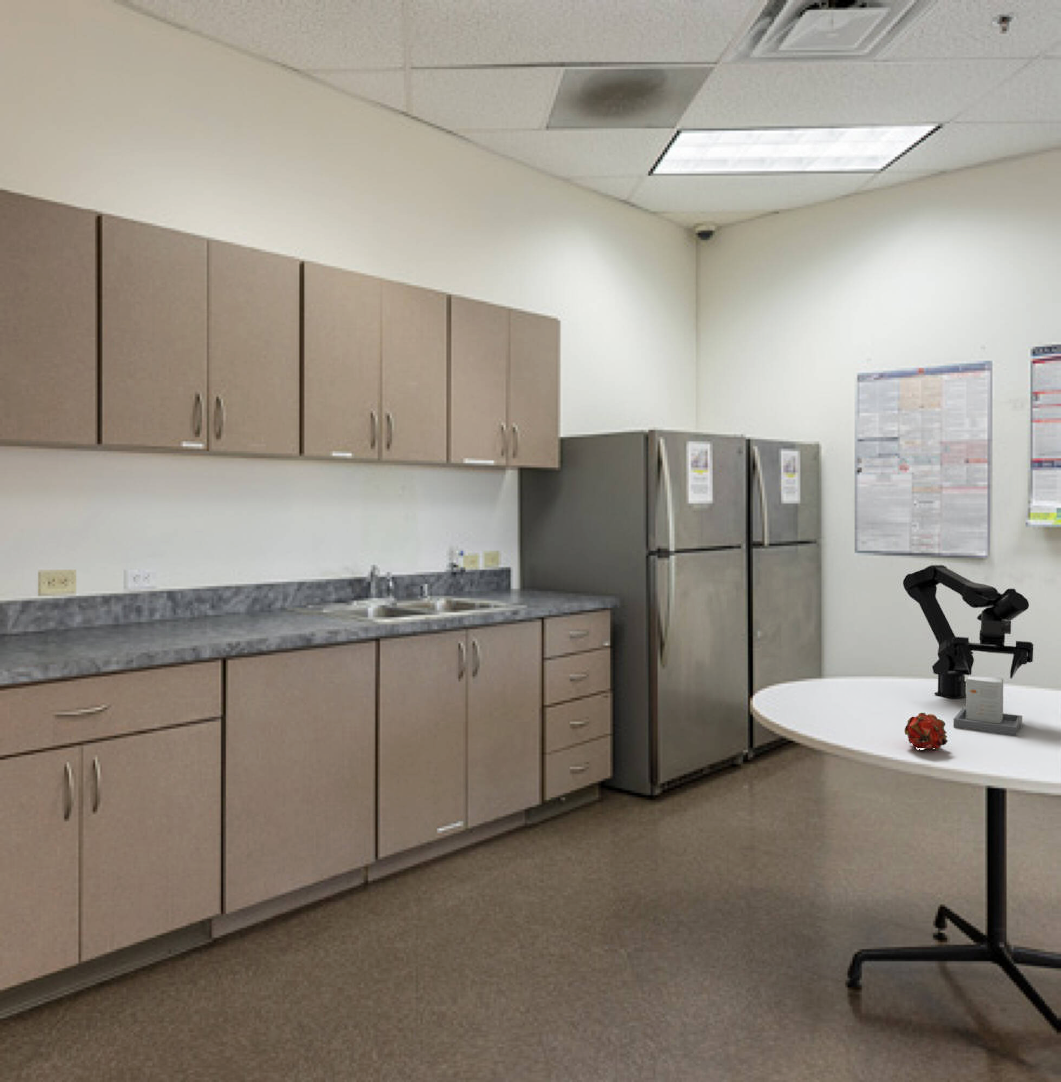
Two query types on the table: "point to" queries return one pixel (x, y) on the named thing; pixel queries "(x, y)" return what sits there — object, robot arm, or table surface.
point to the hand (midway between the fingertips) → (990, 675)
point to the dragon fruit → (926, 731)
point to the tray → (990, 724)
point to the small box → (984, 699)
